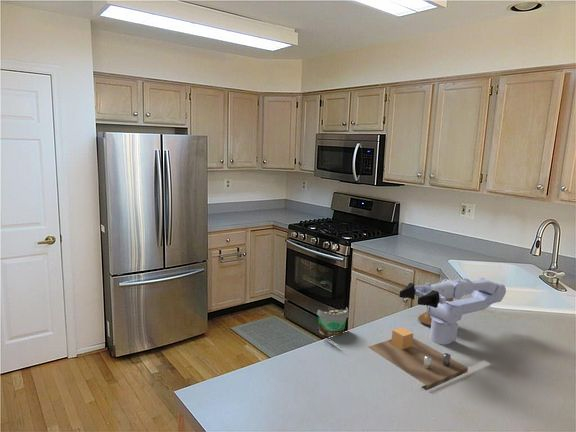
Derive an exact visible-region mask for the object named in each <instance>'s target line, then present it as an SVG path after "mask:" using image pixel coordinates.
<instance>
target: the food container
mask: <svg viewBox="0 0 576 432" xmlns="http://www.w3.org/2000/svg"><path fill="white" fill-rule="evenodd" d="M316 315H317V316H318V331H319V332H318V335H320V337H323V338H324V339H325V338H326V339H329V340H331V337H329V336H333V337H334V336H335V337H336V336H340V335H342V334H343V333H345V328H346V322H347V318H349V316H350V314H349V309H348V307H347V306H346V307H345V308H343V309H328V310H320V309H318V310H317V312H316Z"/></svg>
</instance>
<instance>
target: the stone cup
mask: <svg viewBox="0 0 576 432" xmlns="http://www.w3.org/2000/svg"><path fill="white" fill-rule="evenodd" d="M446 301H449V302H451V301H454V298H453V297H451V298H447V299H446ZM426 310H427V311H426V312H424V313H422V314H419V315H418V316H417V321H419V322H420V323H421V324H424V325H426V326H429V327H431V322H432V318H430V314H429V313H428V305H426Z"/></svg>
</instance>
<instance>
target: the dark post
mask: <svg viewBox="0 0 576 432" xmlns="http://www.w3.org/2000/svg"><path fill="white" fill-rule="evenodd" d="M443 354H444V358H443V365H444V366H446V367H448V366H449V365H450V358H451V354H449V353H443Z"/></svg>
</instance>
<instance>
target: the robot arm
mask: <svg viewBox="0 0 576 432" xmlns="http://www.w3.org/2000/svg"><path fill="white" fill-rule="evenodd" d="M506 293H507V289H506V285H505V284H500V283H498V282H494V281H491V280H490V279H489V280H488V279H486V278H484V277H478V278H477V279H475V280H471V279H469V278H467V277H463V278H462V279H458V278H457V279H455V280H452V279H447V278H444V279H443V280H442V281H441V282H438V283H434V284H431V283H430V282H424V285H416V284H415V283H414V282H409V283H408V284H407V286H405V288H403V289H402V290H400V291H399V298H401V299H411V300H415V296H416V297H417V305H418V306H427V305H428V313H429V314H430V318H432V322H431V326H430V332H429V339H430V341H432V342H433V343H435V344H439V345H449V344H451V343H452V342H457V336H458V329H459V327H458V324H457V322H459V321H461V319H462V318H463V315H467V314H471V313H475V312H479V311H483V310H485V309H487V308H488V307H491V305H493V304H496V303H501V302H502V301H503V299H504V297H505V295H506ZM468 295H469V296H470V295H471V297H467V298H462V297H464V296H468ZM451 297H453V299H455V300H453V301H451V302H449V301H446V299H447V298H451ZM461 298H462V299H461Z"/></svg>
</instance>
